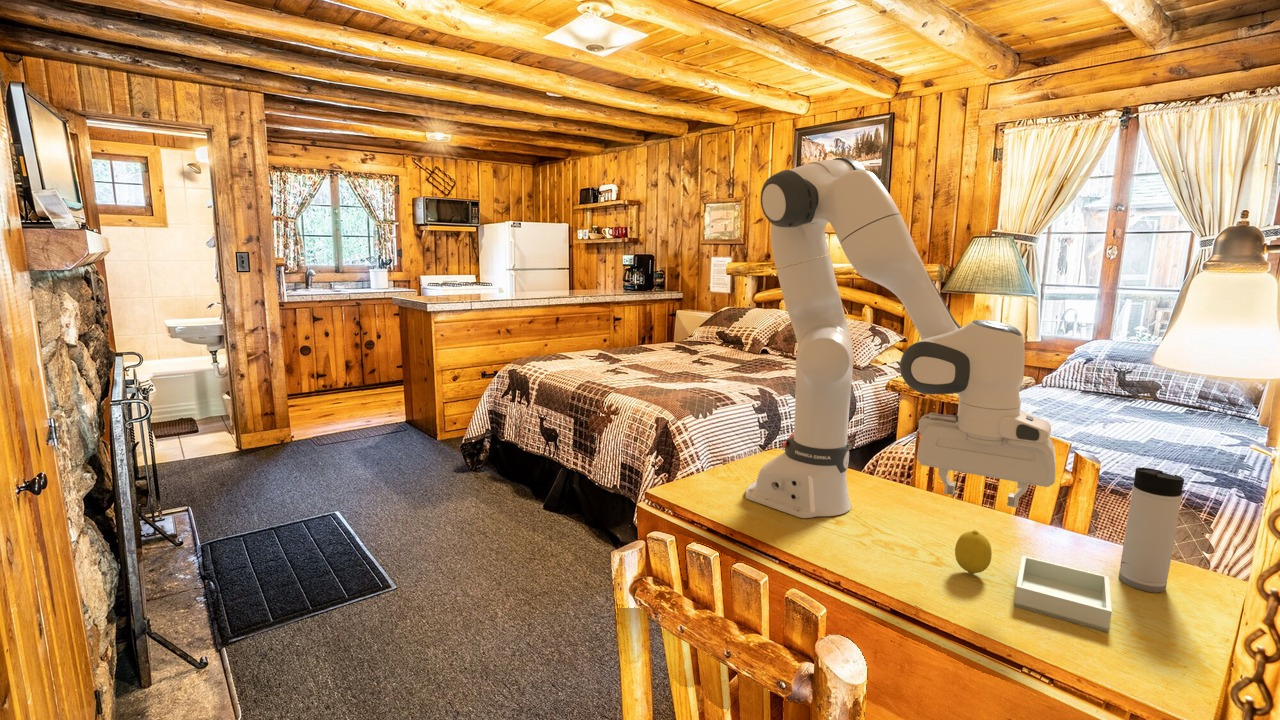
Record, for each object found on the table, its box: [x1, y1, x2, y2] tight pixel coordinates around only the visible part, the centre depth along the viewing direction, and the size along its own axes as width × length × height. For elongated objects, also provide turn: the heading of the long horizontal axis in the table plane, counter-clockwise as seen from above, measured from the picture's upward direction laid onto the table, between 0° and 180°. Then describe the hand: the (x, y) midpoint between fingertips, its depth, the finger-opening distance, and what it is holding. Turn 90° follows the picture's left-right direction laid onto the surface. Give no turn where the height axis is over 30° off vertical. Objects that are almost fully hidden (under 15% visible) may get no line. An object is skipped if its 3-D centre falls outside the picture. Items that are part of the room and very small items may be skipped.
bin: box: [1013, 554, 1113, 634], centre depth 100 cm, size 12×12×3 cm
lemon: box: [954, 530, 993, 575], centre depth 108 cm, size 6×6×8 cm
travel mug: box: [1118, 467, 1185, 593], centre depth 104 cm, size 6×7×20 cm
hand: (980, 499), depth 106 cm, fingers open, 8 cm apart
